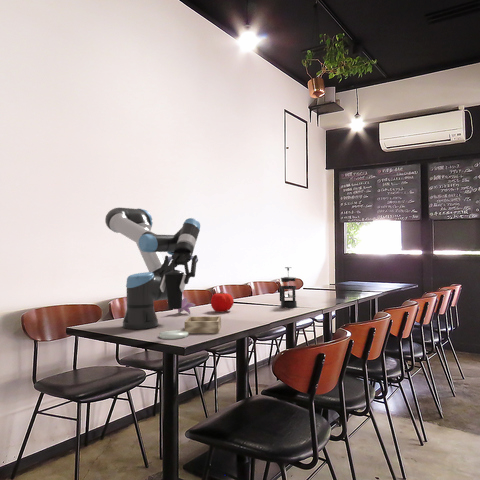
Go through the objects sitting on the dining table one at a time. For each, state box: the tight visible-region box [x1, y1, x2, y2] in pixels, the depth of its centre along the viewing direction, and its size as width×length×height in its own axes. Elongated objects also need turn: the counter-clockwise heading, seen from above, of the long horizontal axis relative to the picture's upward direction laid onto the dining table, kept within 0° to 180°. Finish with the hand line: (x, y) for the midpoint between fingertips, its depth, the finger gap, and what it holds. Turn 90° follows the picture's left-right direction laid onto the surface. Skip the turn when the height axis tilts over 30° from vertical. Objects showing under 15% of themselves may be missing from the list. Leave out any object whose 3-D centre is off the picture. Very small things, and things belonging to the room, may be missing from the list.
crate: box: [184, 315, 222, 334], centre depth 172 cm, size 14×14×4 cm
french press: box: [279, 266, 298, 309], centre depth 240 cm, size 12×9×23 cm
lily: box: [177, 297, 196, 315], centre depth 217 cm, size 12×12×10 cm
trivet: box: [158, 329, 189, 340], centre depth 160 cm, size 11×11×1 cm
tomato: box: [210, 291, 235, 313], centre depth 224 cm, size 13×12×11 cm
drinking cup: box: [164, 256, 185, 310], centre depth 160 cm, size 8×8×20 cm
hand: (171, 289), depth 156 cm, fingers closed on drinking cup, 7 cm apart
